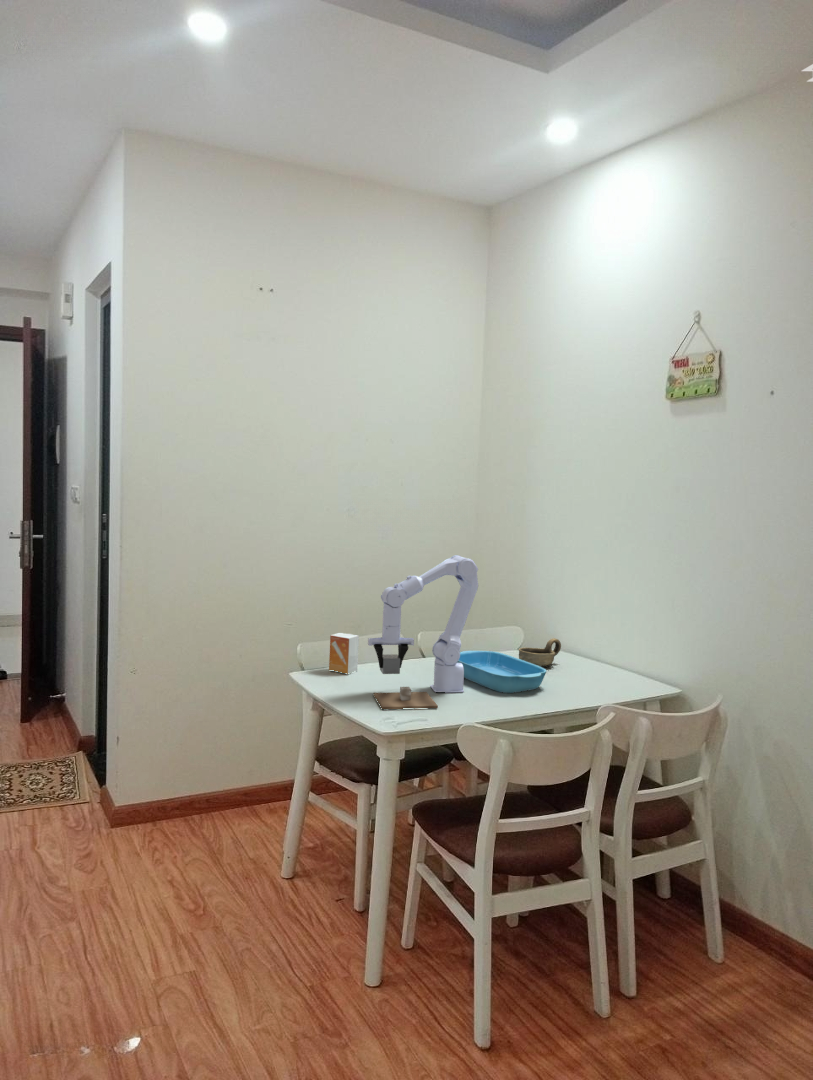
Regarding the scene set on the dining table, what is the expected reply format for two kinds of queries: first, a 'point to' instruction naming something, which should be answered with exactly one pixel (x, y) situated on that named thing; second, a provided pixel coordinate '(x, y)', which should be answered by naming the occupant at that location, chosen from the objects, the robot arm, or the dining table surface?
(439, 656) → the robot arm
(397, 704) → the post board
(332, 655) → the small box
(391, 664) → the square cap
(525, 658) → the bowl
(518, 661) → the casserole dish
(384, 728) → the dining table surface
